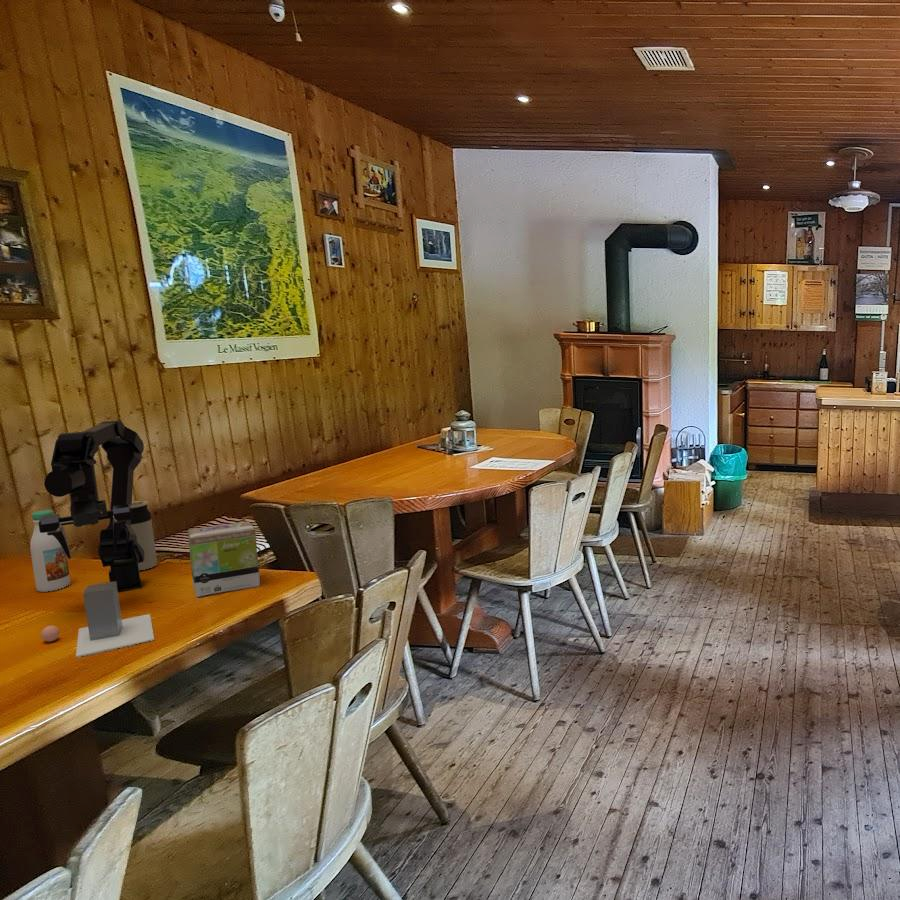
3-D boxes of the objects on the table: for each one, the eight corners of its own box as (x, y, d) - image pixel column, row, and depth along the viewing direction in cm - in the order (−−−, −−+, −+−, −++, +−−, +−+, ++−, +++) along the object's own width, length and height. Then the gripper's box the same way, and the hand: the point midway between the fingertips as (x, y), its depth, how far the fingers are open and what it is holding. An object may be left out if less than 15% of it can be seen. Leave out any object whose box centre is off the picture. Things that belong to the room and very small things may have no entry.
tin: (94, 631, 147) (87, 585, 146) (122, 626, 149) (116, 581, 147) (90, 640, 142) (83, 593, 141) (119, 635, 144) (112, 589, 142)
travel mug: (162, 566, 193) (153, 502, 190) (133, 574, 187) (123, 508, 184) (150, 561, 198) (141, 499, 195) (121, 569, 193) (112, 505, 190)
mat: (150, 615, 155) (149, 613, 155) (154, 640, 141) (154, 638, 141) (79, 630, 149) (78, 628, 149) (76, 658, 135) (75, 656, 135)
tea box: (196, 599, 164) (188, 538, 162) (193, 586, 173) (186, 528, 171) (261, 586, 170) (255, 527, 168) (255, 575, 179) (249, 519, 177)
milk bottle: (35, 595, 175) (23, 517, 172) (37, 586, 182) (25, 511, 179) (70, 588, 178) (59, 511, 176) (71, 580, 185) (60, 506, 182)
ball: (60, 636, 146) (58, 621, 146) (59, 641, 144) (57, 626, 143) (43, 640, 145) (40, 625, 145) (41, 645, 142) (39, 630, 142)
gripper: (31, 499, 146) (42, 571, 148) (129, 486, 154) (138, 555, 156) (36, 491, 156) (46, 559, 158) (127, 479, 164) (136, 544, 166)
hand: (92, 554), depth 160 cm, fingers open, 9 cm apart
